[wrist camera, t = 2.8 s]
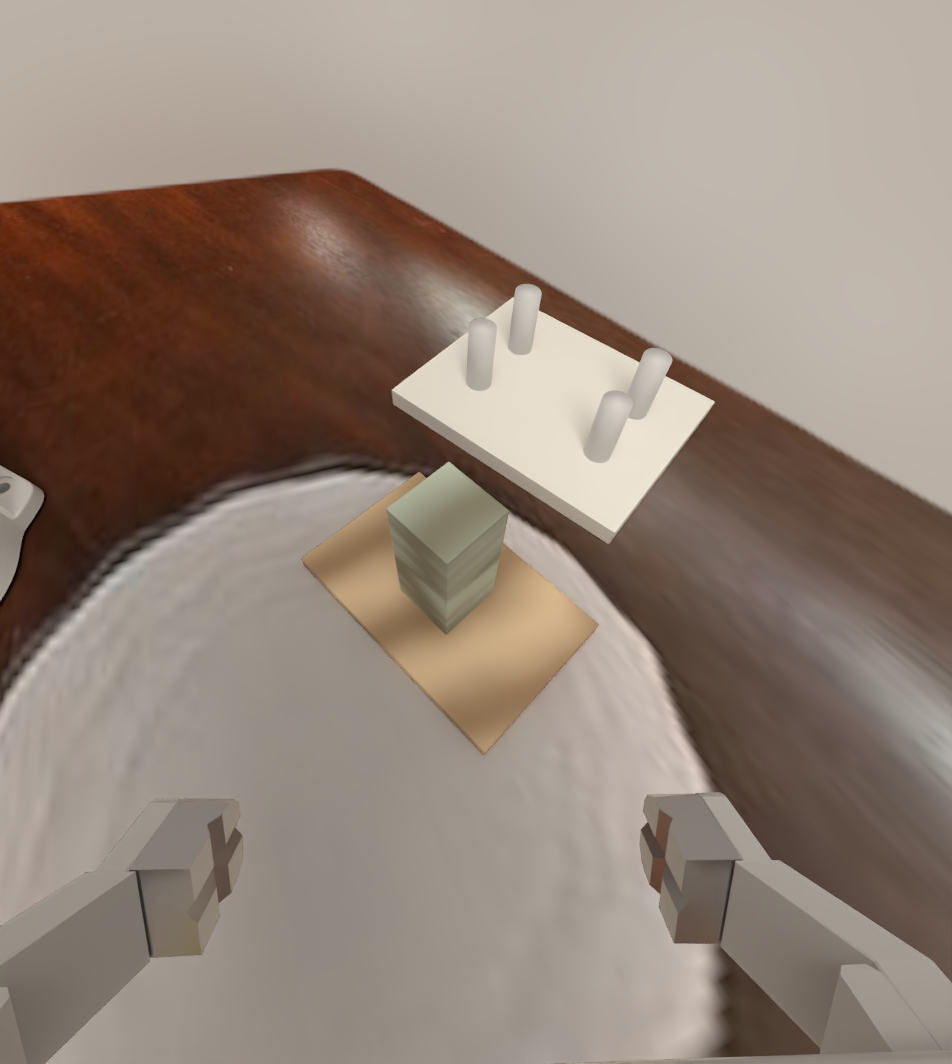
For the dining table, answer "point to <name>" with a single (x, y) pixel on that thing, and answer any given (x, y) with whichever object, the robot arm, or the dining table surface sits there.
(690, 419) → the peg plate
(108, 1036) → the dining table surface
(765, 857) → the robot arm
